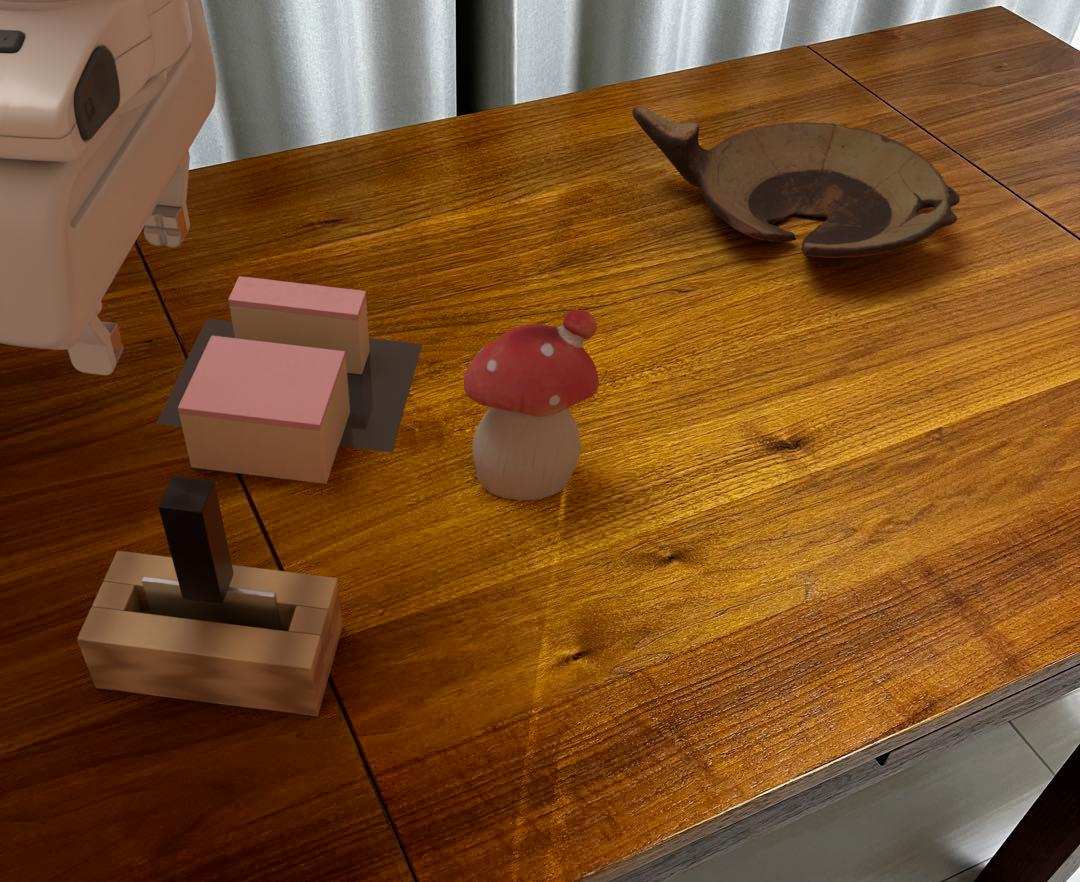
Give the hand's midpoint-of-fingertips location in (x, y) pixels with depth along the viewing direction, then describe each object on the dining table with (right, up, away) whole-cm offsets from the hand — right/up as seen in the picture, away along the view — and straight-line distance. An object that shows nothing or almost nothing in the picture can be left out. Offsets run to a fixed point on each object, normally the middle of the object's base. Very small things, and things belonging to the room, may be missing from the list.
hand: (136, 297), depth 55 cm
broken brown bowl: (+43, +20, +61) cm, 77 cm away
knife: (-2, -19, +21) cm, 28 cm away
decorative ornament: (+17, -7, +35) cm, 39 cm away
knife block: (-2, -19, +22) cm, 29 cm away
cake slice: (0, +4, +41) cm, 41 cm away
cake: (-1, -4, +35) cm, 35 cm away
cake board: (-1, -1, +38) cm, 38 cm away
